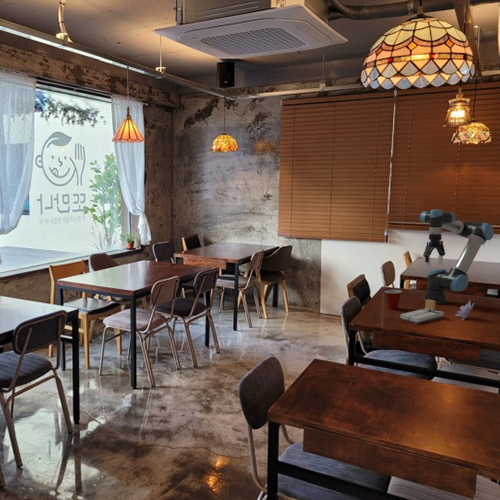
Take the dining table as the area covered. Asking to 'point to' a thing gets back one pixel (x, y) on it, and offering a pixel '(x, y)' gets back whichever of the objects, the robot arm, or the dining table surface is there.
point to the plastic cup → (393, 298)
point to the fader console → (421, 315)
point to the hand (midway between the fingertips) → (433, 266)
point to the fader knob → (430, 304)
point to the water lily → (465, 310)
